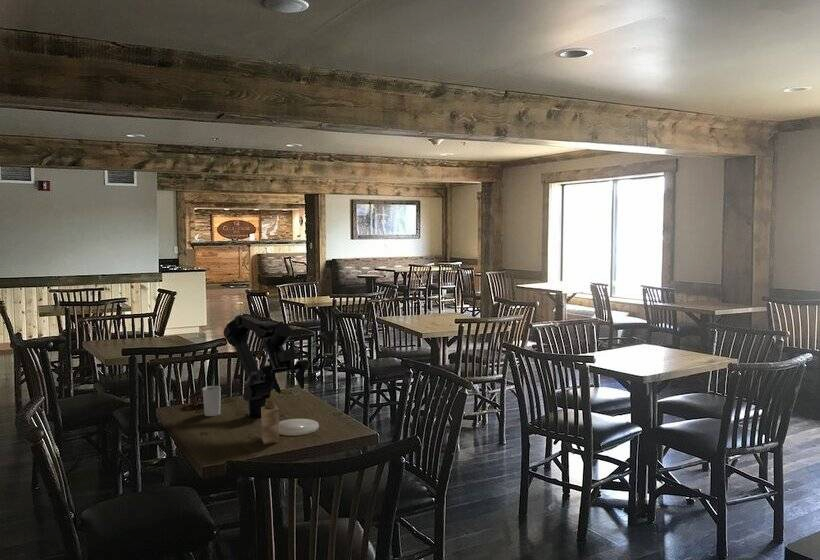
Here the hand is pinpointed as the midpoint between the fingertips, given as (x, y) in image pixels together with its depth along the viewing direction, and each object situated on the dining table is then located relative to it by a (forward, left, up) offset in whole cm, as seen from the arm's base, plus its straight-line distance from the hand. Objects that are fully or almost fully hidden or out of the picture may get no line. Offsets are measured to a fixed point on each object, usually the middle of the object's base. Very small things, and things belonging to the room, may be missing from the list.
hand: (291, 390), depth 222 cm
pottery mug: (-23, +48, -14) cm, 55 cm away
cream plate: (+2, +2, -14) cm, 14 cm away
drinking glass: (-22, +33, -14) cm, 43 cm away
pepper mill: (-9, -7, -14) cm, 18 cm away
